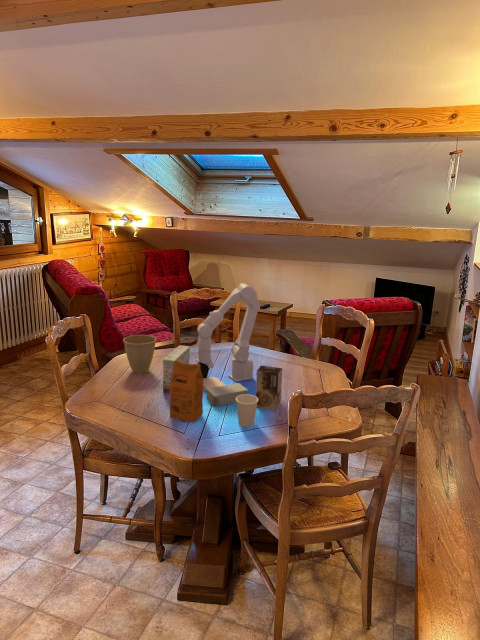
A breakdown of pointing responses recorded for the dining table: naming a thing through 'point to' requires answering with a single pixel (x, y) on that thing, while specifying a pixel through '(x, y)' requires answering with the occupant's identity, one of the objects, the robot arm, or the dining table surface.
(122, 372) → the dining table surface
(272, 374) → the coffee box
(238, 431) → the dining table surface
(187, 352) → the snack box
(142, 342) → the plant pot
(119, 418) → the dining table surface
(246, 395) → the dixie cup
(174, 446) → the dining table surface
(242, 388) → the beige slab
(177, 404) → the coffee package
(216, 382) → the tile
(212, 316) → the robot arm
